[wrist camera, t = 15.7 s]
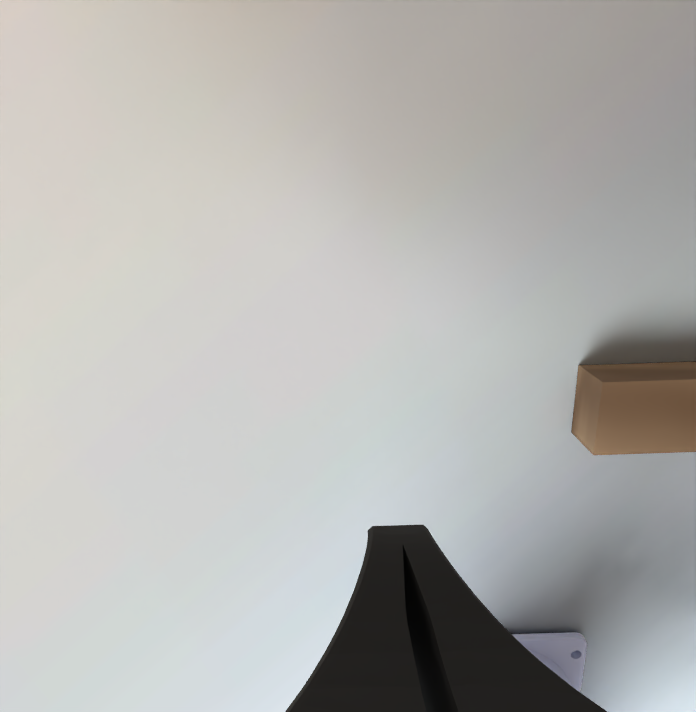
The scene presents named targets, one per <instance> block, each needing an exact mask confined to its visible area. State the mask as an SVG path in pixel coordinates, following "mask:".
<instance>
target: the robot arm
mask: <svg viewBox="0 0 696 712" xmlns="http://www.w3.org/2000/svg"><path fill="white" fill-rule="evenodd" d="M586 650H587V642H586V640H585V638H584V636H583V635H582V634H580V633H576V632H570V633H537V634H511V633H510V632H509V631H508V630H507V629H506V628H505V627H504V626H503V625H502V624H501V623H500V622H499V621H498V620H497V619H496V618H495V617H494V616H493V615H492V614H491V612H490V611H489V610H488V609H487V608H486V607H485V606H484V605H483V603H482V602H481V601H480V600H479V599H478V598H477V597H476V595H475V594H474V593H473V592H472V591H471V589H470V588H469V587H468V586H467V584H466V583H465V582H464V581H463V579H462V578H461V577H460V575H459V574H458V573H457V572H456V570H455V569H454V568H453V566H452V565H451V564H450V562H449V561H448V559H447V558H446V557H445V555H444V554H443V552H442V551H441V549H440V548H439V546H438V545H437V543H436V542H435V540H434V539H433V537H432V535H431V534H430V532H429V530H428V529H427V528H426V527H425V526H424V525H398V526H372V527H371V528H370V529H369V530H368V542H367V548H366V553H365V557H364V561H363V565H362V568H361V571H360V574H359V577H358V580H357V583H356V586H355V589H354V592H353V594H352V597H351V599H350V601H349V604H348V606H347V609H346V611H345V613H344V616H343V618H342V620H341V622H340V624H339V626H338V628H337V630H336V632H335V634H334V636H333V638H332V640H331V642H330V644H329V646H328V648H327V649H326V651H325V653H324V655H323V656H322V658H321V660H320V661H319V663H318V665H317V666H316V668H315V670H314V671H313V673H312V674H311V676H310V678H309V679H308V681H307V682H306V684H305V685H304V687H303V688H302V690H301V691H300V692H299V694H298V695H297V696H296V698H295V699H294V701H293V702H292V703H291V705H290V706H289V707H288V709H287V710H286V712H607V711H605V710H604V709H602V708H601V707H600V706H598V705H597V704H595V703H594V702H592V701H591V700H590V699H588V698H587V697H585V696H584V695H583V694H581V693H580V692H581V685H582V678H583V671H584V664H585V657H586ZM573 651H574V652H573Z"/></svg>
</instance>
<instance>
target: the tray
mask: <svg viewBox="0 0 696 712" xmlns="http://www.w3.org/2000/svg"><path fill="white" fill-rule="evenodd" d="M571 432H572V433H573V434H574V436H575V437H576V438H577V439H578V440H579V441H580V442H581V443H582V444H583V445H584V446H585V447H586V448H587V449H588V450H589V451H590V452H591V453H592V454H593V455H612V454H642V453H673V452H696V361H695V362H664V363H634V364H603V365H579V367H578V376H577V385H576V394H575V404H574V413H573V422H572V431H571Z"/></svg>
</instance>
